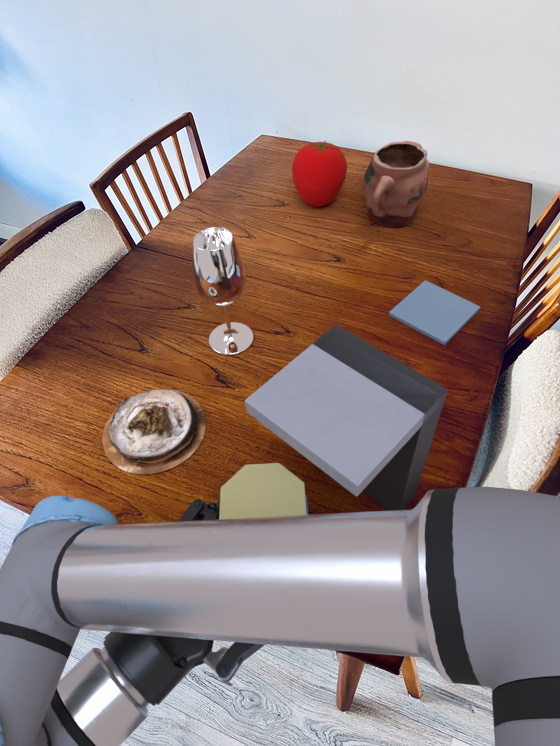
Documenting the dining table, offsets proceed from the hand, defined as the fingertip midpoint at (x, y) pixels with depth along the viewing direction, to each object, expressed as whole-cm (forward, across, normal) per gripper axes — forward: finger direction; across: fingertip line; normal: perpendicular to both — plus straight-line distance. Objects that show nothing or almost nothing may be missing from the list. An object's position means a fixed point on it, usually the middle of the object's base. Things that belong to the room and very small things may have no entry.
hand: (298, 501), depth 56 cm
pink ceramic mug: (+63, -32, -11) cm, 72 cm away
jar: (-5, 0, -8) cm, 9 cm away
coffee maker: (+7, 0, -10) cm, 13 cm away
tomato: (+59, -48, -11) cm, 77 cm away
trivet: (+45, -10, -10) cm, 47 cm away
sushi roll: (-2, -27, -11) cm, 29 cm away
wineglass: (+18, -32, -11) cm, 38 cm away
